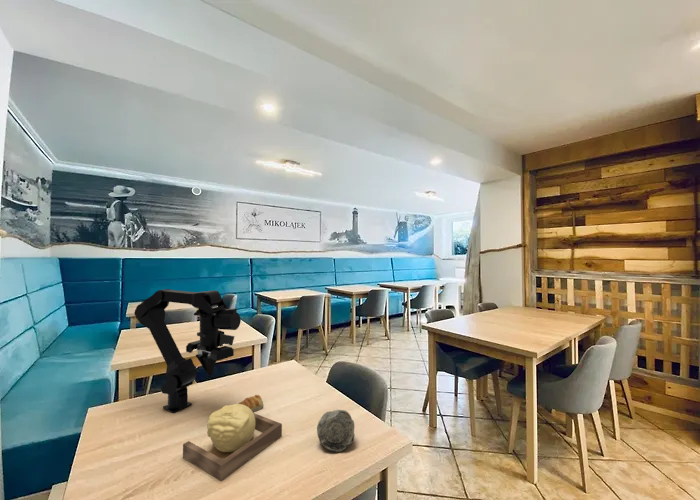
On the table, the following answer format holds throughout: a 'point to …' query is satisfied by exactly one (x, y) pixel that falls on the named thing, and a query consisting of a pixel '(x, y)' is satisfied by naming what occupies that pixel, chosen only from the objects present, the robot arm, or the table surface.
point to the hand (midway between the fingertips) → (209, 375)
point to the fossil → (336, 430)
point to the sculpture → (231, 427)
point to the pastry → (253, 402)
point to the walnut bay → (239, 457)
